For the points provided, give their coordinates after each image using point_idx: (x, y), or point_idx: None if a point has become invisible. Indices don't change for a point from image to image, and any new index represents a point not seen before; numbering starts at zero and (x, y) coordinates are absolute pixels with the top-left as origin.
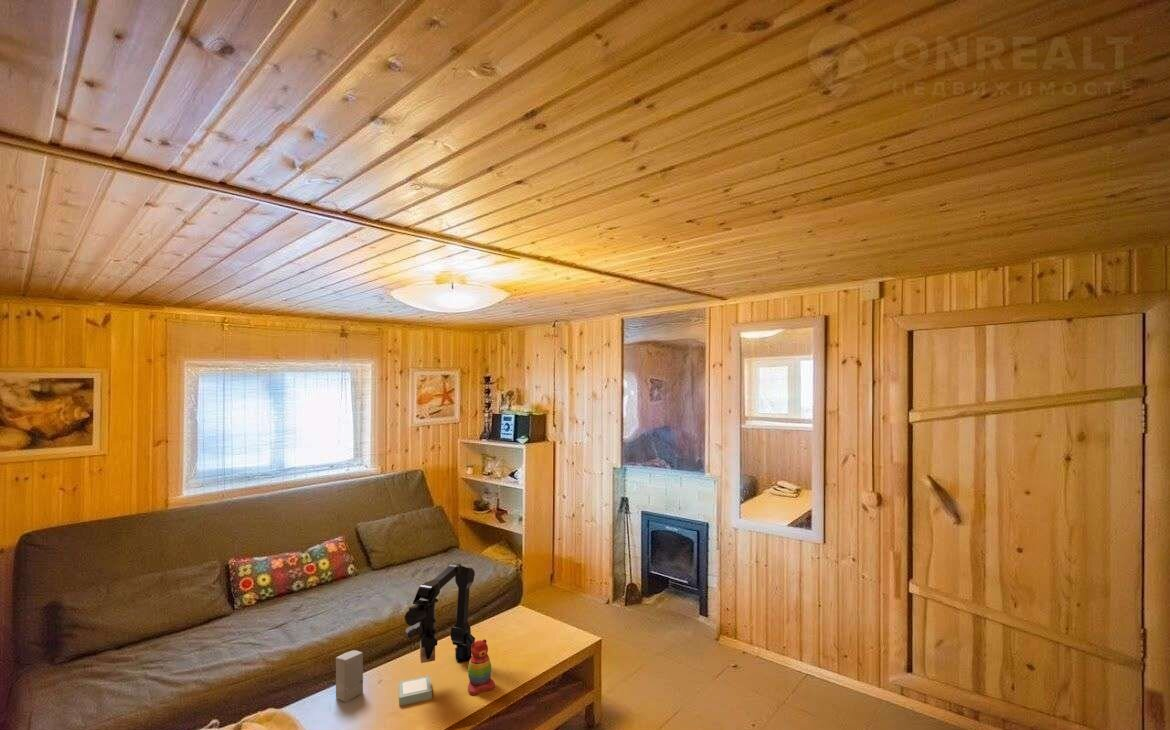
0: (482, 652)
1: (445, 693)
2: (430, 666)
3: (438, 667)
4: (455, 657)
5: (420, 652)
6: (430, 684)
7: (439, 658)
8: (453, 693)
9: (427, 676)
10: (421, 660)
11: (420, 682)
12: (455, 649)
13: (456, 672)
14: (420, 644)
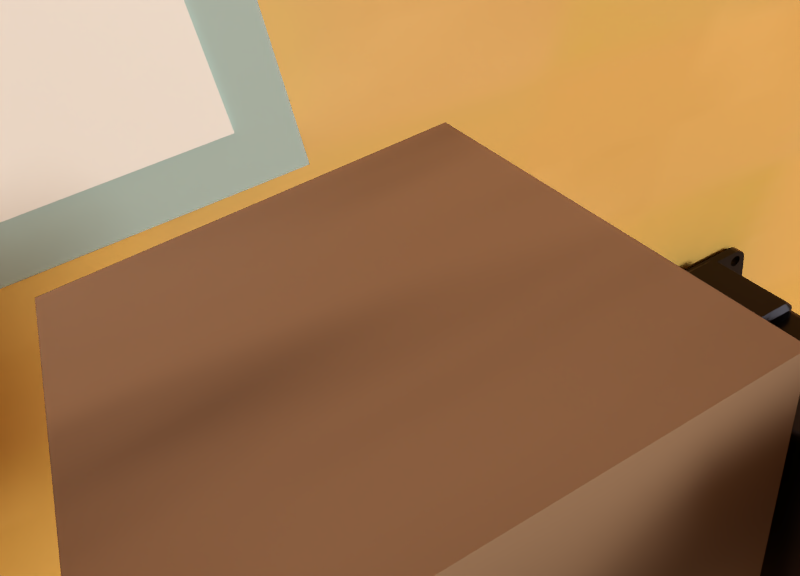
0: None
1: (9, 417)
2: (659, 22)
3: (607, 130)
4: (698, 271)
5: (375, 307)
6: (22, 275)
7: (770, 85)
8: (18, 497)
9: (287, 140)
10: (54, 356)
11: (69, 80)
12: (762, 317)
13: None
14: (688, 423)
